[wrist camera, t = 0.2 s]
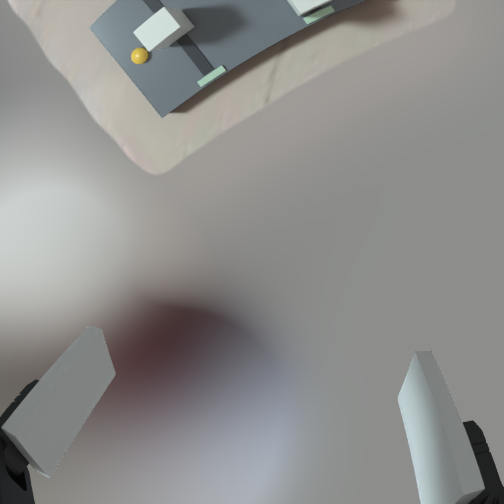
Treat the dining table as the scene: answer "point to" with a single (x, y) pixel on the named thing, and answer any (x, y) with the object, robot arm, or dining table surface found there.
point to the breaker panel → (199, 41)
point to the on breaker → (306, 5)
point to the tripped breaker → (163, 28)
